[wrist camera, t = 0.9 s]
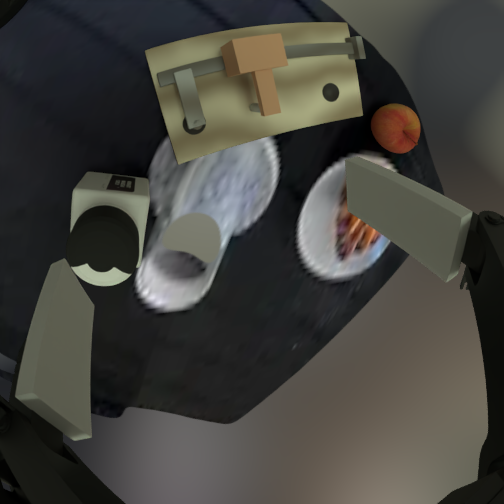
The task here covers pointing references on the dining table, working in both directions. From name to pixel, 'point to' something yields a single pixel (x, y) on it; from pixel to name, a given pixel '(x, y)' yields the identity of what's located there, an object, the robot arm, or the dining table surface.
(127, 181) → the container
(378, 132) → the apple
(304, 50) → the board
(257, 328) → the dining table surface
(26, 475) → the robot arm
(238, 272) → the dining table surface
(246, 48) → the block
